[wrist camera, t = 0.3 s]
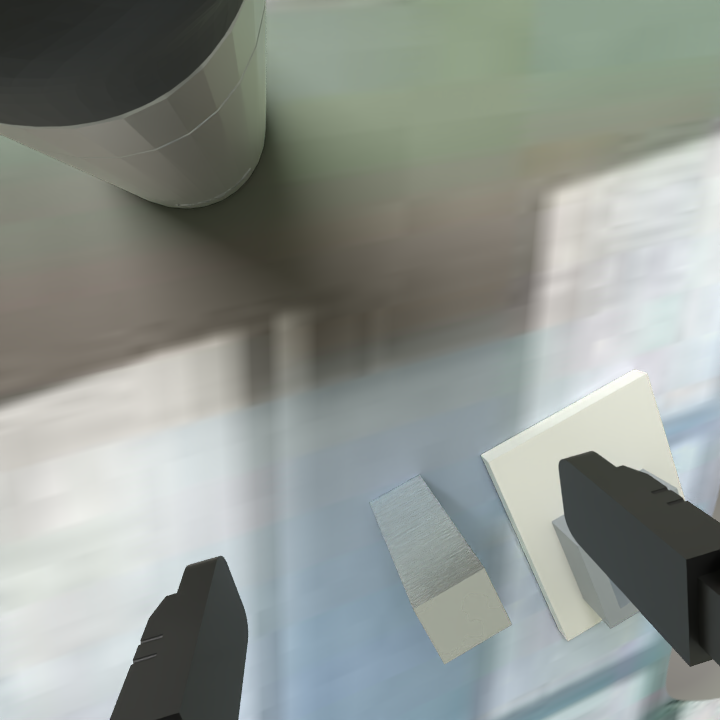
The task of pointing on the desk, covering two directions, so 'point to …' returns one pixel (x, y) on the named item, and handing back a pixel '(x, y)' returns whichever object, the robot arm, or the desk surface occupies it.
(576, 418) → the docking board
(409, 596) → the grainy grey brick
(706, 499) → the desk surface
